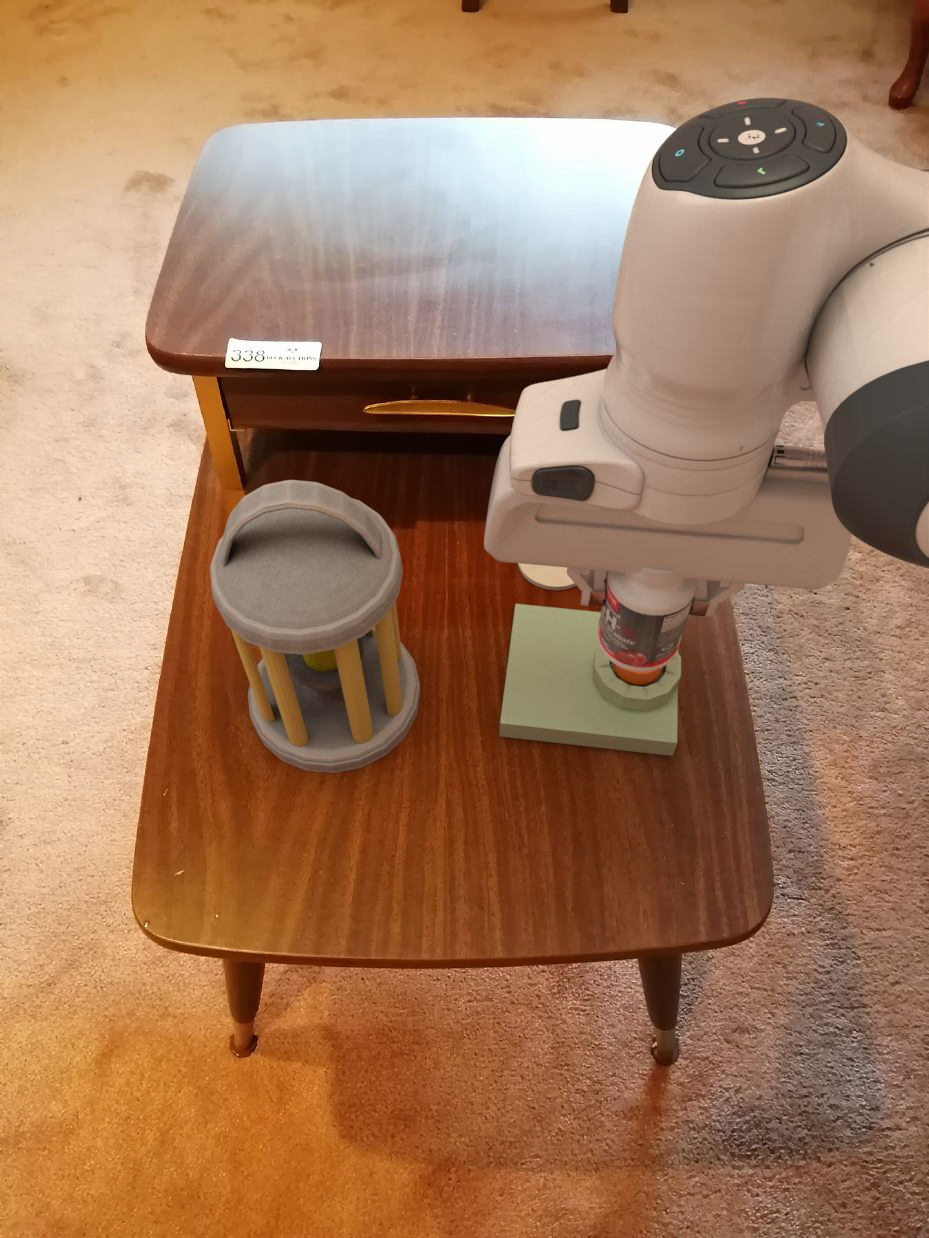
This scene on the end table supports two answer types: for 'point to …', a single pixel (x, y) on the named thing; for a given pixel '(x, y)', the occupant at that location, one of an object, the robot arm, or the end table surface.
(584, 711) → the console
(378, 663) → the lantern
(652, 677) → the press button
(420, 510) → the end table surface
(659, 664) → the pill bottle
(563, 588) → the coaster
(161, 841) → the end table surface
